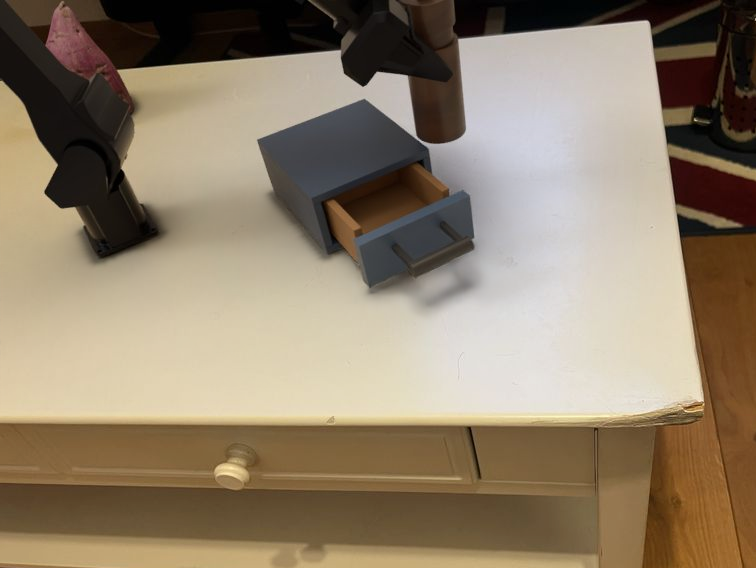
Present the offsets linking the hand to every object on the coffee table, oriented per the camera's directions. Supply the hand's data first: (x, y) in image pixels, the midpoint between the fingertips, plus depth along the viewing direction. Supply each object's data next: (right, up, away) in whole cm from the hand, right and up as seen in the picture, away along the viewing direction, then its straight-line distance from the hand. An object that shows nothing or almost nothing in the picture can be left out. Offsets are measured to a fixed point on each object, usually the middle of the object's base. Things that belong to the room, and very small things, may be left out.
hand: (447, 64), depth 67 cm
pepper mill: (-1, -5, +5) cm, 7 cm away
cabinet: (-10, -11, +10) cm, 18 cm away
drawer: (-4, -16, +2) cm, 17 cm away
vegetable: (-48, +5, +29) cm, 56 cm away
